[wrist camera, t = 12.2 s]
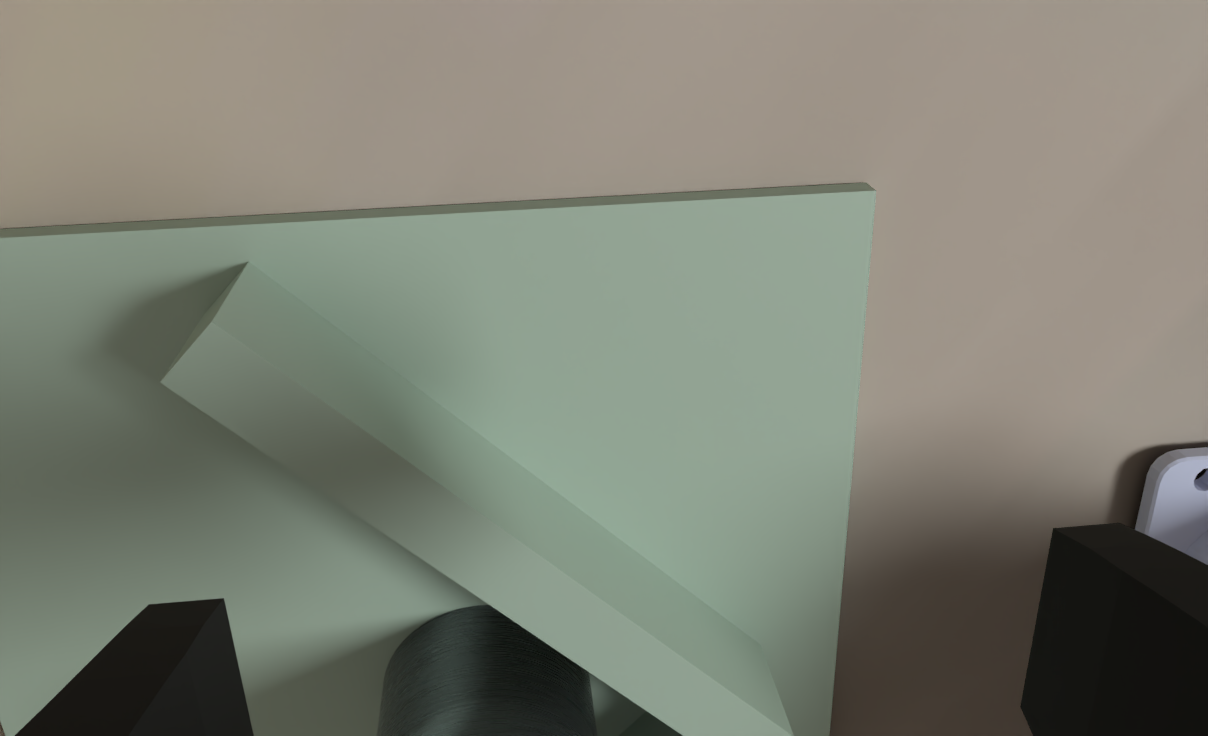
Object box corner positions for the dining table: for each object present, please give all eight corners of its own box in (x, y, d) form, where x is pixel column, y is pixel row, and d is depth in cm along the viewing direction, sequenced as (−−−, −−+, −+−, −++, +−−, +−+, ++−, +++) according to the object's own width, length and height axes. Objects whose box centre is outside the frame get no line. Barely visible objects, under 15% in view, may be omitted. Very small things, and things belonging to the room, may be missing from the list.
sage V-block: (866, 182, 18) (936, 236, 15) (803, 950, 26) (841, 1077, 23) (-148, 236, 16) (-274, 308, 13) (122, 1030, 24) (77, 1175, 21)
